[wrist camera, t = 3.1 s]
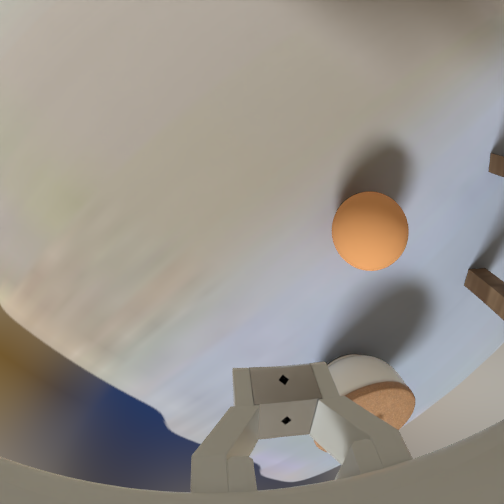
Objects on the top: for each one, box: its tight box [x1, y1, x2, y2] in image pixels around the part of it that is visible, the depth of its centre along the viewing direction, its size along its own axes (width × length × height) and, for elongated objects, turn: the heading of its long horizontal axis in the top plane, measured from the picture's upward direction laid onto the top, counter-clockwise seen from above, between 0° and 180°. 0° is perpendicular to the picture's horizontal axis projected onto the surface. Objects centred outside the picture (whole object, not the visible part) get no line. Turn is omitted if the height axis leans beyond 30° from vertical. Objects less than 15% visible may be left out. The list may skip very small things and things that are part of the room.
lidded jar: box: [314, 354, 415, 452], centre depth 29 cm, size 11×11×9 cm
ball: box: [332, 192, 409, 271], centre depth 23 cm, size 6×6×6 cm
